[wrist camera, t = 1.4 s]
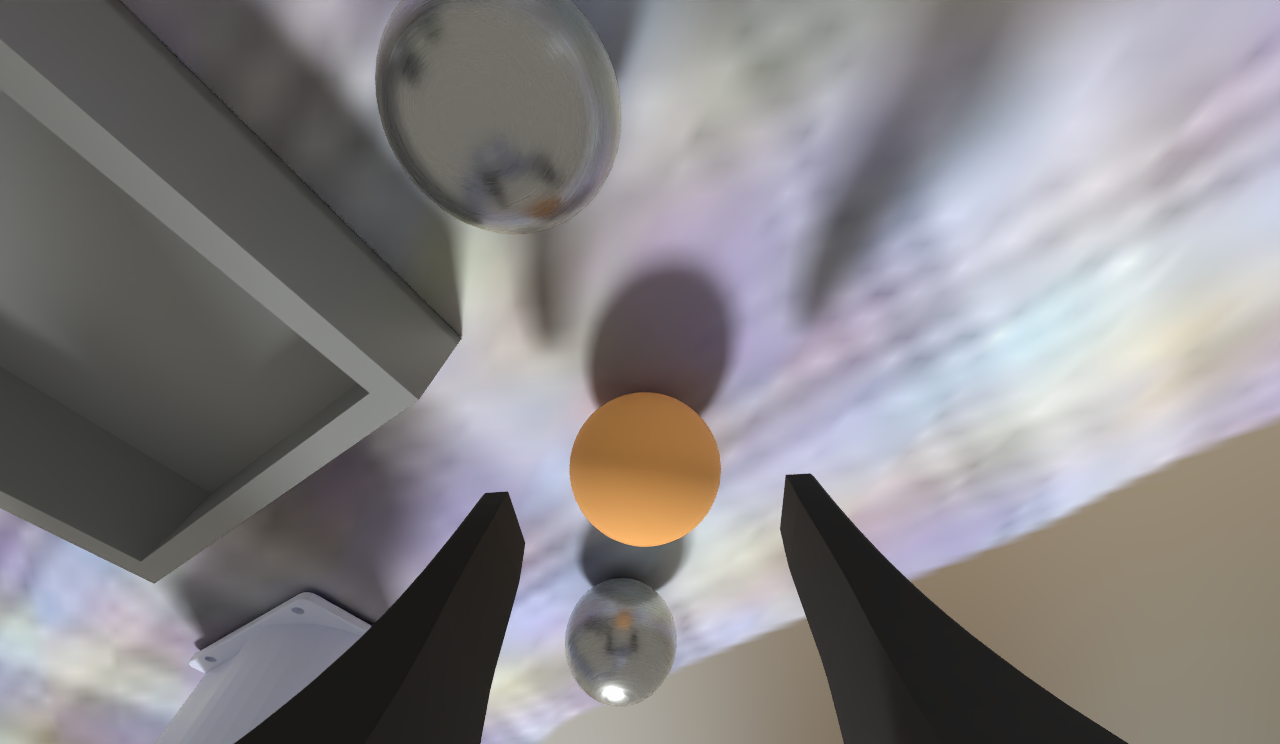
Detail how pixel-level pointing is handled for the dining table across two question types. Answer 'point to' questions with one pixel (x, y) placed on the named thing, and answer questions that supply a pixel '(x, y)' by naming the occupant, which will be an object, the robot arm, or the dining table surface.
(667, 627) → the steel ball
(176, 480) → the bin
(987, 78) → the dining table surface
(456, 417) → the dining table surface
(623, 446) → the orange ball
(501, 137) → the steel ball
